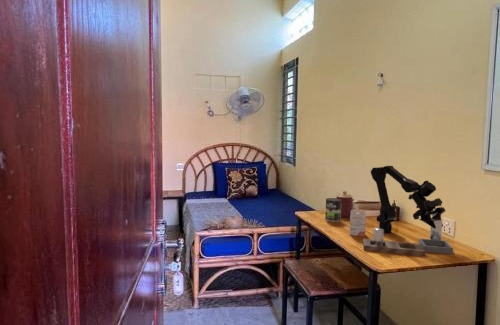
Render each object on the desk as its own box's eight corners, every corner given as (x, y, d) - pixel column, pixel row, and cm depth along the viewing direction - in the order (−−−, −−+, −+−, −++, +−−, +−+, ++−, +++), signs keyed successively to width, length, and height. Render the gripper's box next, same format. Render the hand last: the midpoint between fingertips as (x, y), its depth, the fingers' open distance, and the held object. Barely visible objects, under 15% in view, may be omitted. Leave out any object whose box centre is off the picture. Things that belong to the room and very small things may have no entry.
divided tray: (363, 250, 177) (364, 245, 177) (362, 243, 189) (363, 238, 188) (424, 256, 170) (425, 251, 170) (419, 248, 181) (420, 243, 181)
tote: (423, 251, 177) (424, 245, 176) (418, 243, 189) (419, 238, 189) (452, 254, 173) (453, 248, 173) (445, 246, 186) (445, 240, 186)
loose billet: (431, 240, 179) (432, 220, 178) (429, 237, 184) (430, 218, 183) (442, 241, 178) (443, 221, 177) (439, 238, 183) (440, 219, 182)
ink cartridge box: (365, 234, 205) (366, 209, 204) (364, 236, 200) (366, 211, 199) (349, 232, 208) (351, 208, 207) (349, 235, 203) (350, 210, 202)
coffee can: (337, 222, 231) (338, 201, 230) (322, 220, 237) (323, 199, 235) (342, 219, 239) (343, 199, 238) (328, 217, 245) (329, 197, 244)
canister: (349, 218, 243) (351, 193, 241) (331, 215, 250) (332, 191, 248) (355, 214, 253) (356, 190, 252) (338, 212, 260) (338, 188, 259)
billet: (372, 249, 179) (373, 229, 178) (372, 246, 184) (373, 227, 183) (383, 250, 178) (384, 230, 177) (382, 247, 183) (383, 228, 182)
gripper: (419, 194, 178) (437, 220, 169) (443, 192, 186) (462, 217, 177) (405, 206, 186) (422, 232, 177) (429, 203, 194) (446, 228, 185)
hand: (438, 227), depth 179 cm, fingers closed on loose billet, 5 cm apart
